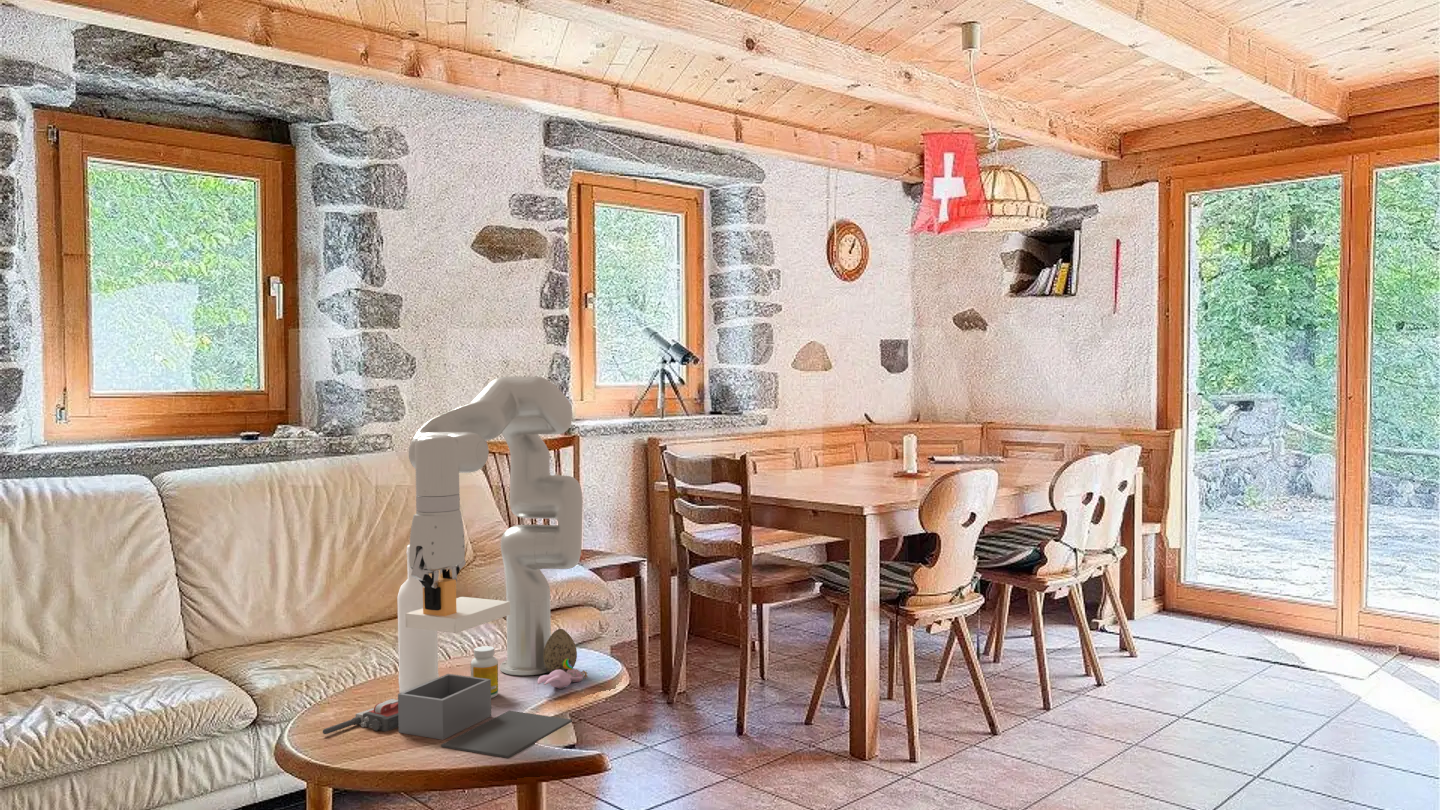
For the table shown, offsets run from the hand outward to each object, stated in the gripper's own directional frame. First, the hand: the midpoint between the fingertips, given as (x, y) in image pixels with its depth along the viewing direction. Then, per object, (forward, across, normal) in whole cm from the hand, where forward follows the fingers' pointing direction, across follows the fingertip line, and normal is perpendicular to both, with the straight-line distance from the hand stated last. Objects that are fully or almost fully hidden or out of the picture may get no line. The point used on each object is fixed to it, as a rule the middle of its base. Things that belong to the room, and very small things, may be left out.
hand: (439, 606), depth 187 cm
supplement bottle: (+23, -22, -8) cm, 33 cm away
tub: (+23, -5, -4) cm, 24 cm away
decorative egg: (+23, -40, -2) cm, 47 cm away
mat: (+23, -6, +10) cm, 26 cm away
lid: (+4, -5, 0) cm, 6 cm away
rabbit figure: (+24, -33, +3) cm, 41 cm away
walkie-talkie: (+24, 0, -15) cm, 28 cm away
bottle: (+23, -20, -23) cm, 38 cm away
